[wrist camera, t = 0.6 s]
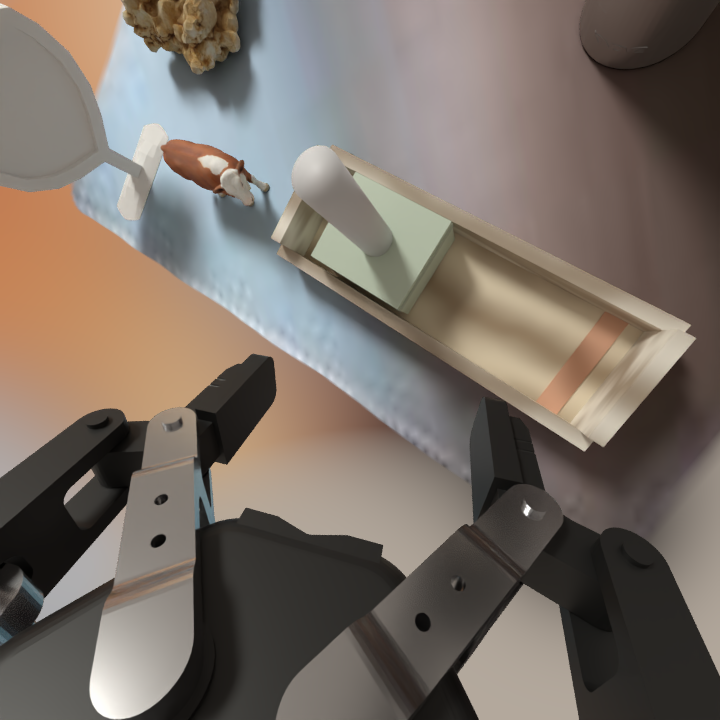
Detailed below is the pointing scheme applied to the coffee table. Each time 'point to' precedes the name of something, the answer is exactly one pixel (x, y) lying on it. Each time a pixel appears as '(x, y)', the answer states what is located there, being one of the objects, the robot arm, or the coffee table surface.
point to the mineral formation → (187, 28)
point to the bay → (514, 319)
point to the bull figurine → (211, 169)
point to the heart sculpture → (59, 120)
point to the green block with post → (371, 229)
